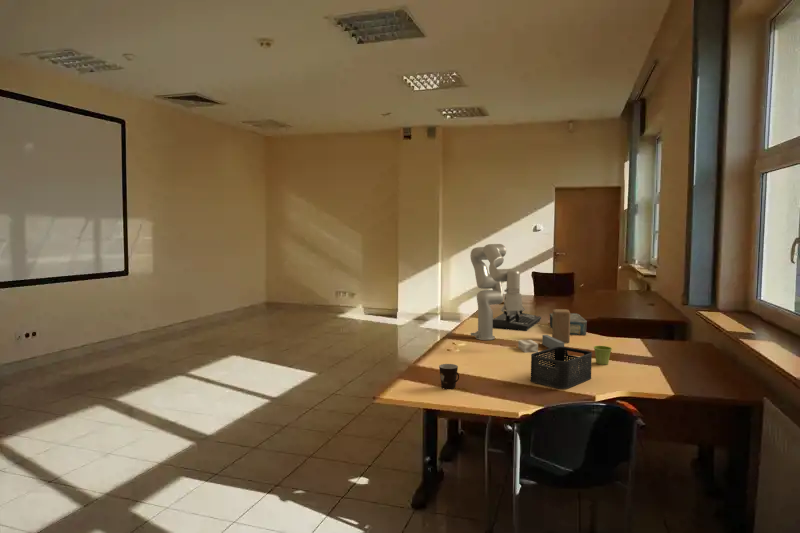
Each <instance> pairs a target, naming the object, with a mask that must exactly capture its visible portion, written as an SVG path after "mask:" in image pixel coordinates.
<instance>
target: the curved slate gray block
mask: <svg viewBox="0 0 800 533" xmlns="http://www.w3.org/2000/svg"><path fill="white" fill-rule="evenodd" d="M541 336H542V337H541V338H542V340H541V341H542V342H541V344H542V345H543V346H544V347H546V348H547V349H550V348H553V347H558V346H560V347H565V343H564V342H562V341H560V340H557V339H555V338H553V337H552V335H551V336H550V335H548V334H542V335H541Z"/></svg>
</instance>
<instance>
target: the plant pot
mask: <svg viewBox="0 0 800 533" xmlns="http://www.w3.org/2000/svg"><path fill="white" fill-rule="evenodd" d="M593 349H594V354H595V356H594V357H595V362H596V364H598V365H602V366H604V365H608V364H609V362H610V356H611V352H612V350H613V347H612V346H611V347H610V346H606V345H595V346H593Z"/></svg>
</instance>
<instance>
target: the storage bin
mask: <svg viewBox="0 0 800 533" xmlns="http://www.w3.org/2000/svg"><path fill="white" fill-rule="evenodd" d="M569 352H572V353H579V354H583V355H580V356H576V355H572V354H569ZM592 354H593V352H592V351H590V350H583V349H579V348H572V347H567V346H564V347H560V346H558V347H553V348H547V349H543V350H540V351H538V352H532V353H531V354H530V356H531V358H530V382H532V383H534V384H537V385H542V386H547V387H551V388H556V389H562V390H564V389H565V390H566V389H570V388H573V387H575V386H577V385H579V384H582V383H584V382H586V381H587V382H588V381H589V380H591V379H592V364H593V362H592V359H593V358H592V356H593V355H592Z"/></svg>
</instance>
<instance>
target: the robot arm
mask: <svg viewBox="0 0 800 533" xmlns="http://www.w3.org/2000/svg"><path fill="white" fill-rule="evenodd" d="M506 254H507V248H506V246H505V245H504V244H502V243H490V244H486V245H484V246H477V247H473V248H472V249H471V251H470V262H471V264H472V266H473V269H474V273H475V280H476V286H477V287H478V288H479V289H480V290H479V291H478V292H477V293H476V303H477V330H476V331H475V332H470V336H471V337H475V339H476V340H479V341H480V340H481V341H493V340H495V339H496V336H494V335H493V329H494V328H493V318H494V315H493V314H494V311H493V308H491V305H501V304H502V303H503V306H502V307H501V309H500V311H501V312H502V313H504V314H505V315H506V321H507V322H508V323H509V322H510V316H509V313H510V311H516V315H515V321H516V322H519V315H520V314H521V313H524V311H525V310H526V309H525V306H523V299H522V293H520V292H521V291H520V288H521V286H520V285H521V281H520V280H521V278H520V277H521V272H520V271H519V270H517V269H514V268H499V267H501V266H502V265H503V263H504V257H505V256H506ZM484 261H488V262H489V266H487V264H485V262H484ZM502 282H506V288H505V289H504V292H503V287H502V286H503V285H502ZM481 289H482V290H481ZM504 293H505V295H504Z"/></svg>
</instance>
